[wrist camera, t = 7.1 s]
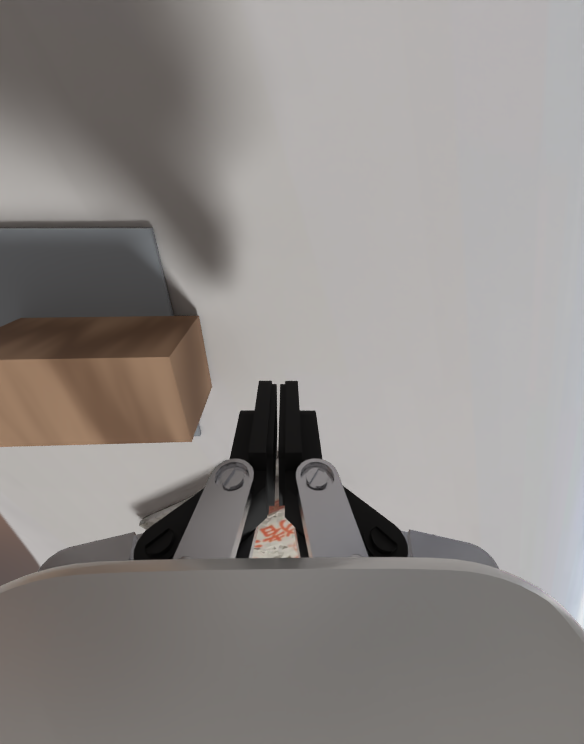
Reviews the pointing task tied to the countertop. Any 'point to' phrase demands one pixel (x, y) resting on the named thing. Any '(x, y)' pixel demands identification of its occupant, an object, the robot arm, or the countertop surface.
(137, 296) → the rubber mat
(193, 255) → the countertop surface
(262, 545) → the packaged product
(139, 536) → the robot arm
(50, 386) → the walnut block
